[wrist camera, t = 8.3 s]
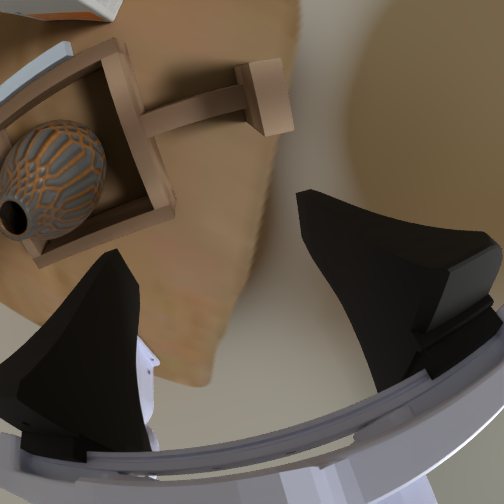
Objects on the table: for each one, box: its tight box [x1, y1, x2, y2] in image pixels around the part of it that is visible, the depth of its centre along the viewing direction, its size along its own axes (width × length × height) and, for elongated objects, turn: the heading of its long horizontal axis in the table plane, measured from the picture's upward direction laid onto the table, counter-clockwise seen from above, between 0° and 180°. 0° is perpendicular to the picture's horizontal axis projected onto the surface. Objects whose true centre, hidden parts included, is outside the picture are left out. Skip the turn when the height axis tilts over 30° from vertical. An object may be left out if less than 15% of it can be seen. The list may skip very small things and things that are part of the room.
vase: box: [0, 120, 107, 241], centre depth 12 cm, size 7×7×9 cm
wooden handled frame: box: [0, 37, 294, 269], centre depth 14 cm, size 12×20×5 cm, turn 102°
